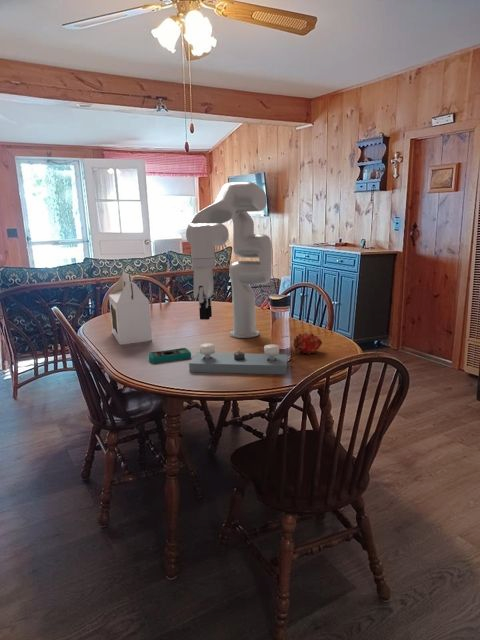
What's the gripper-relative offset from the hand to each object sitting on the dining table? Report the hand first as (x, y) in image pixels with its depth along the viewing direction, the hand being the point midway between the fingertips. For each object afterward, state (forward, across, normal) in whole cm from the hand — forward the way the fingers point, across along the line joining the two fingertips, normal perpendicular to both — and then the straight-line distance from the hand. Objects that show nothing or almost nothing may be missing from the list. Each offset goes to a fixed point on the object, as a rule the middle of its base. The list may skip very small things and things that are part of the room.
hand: (205, 317), depth 152 cm
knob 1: (+15, 0, 0) cm, 15 cm away
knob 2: (+15, 0, +22) cm, 27 cm away
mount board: (+17, 0, +11) cm, 20 cm away
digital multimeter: (+18, -8, -16) cm, 25 cm away
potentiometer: (+14, 0, +11) cm, 18 cm away
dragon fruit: (+17, -18, +34) cm, 42 cm away
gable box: (+17, -36, -42) cm, 58 cm away
